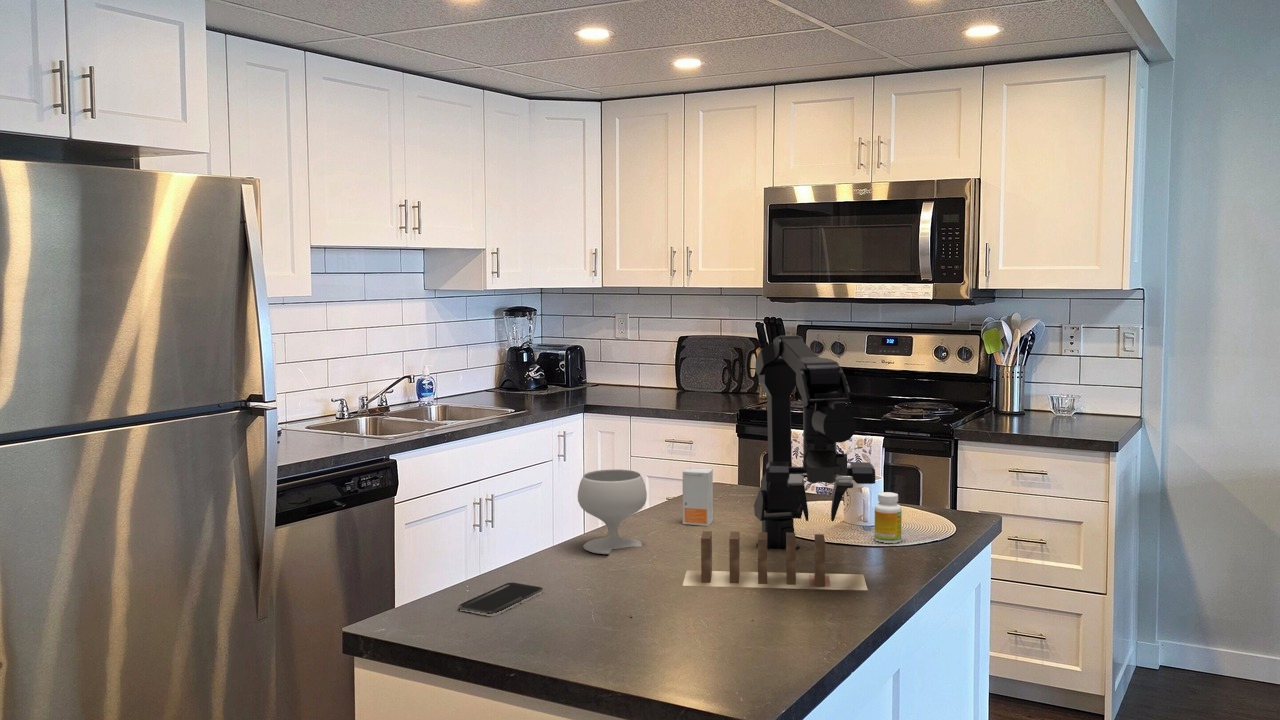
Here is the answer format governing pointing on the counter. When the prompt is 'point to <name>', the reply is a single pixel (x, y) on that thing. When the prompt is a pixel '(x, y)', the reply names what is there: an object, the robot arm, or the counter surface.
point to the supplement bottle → (888, 518)
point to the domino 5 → (819, 560)
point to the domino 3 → (762, 557)
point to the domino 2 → (734, 557)
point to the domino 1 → (706, 557)
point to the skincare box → (698, 496)
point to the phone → (500, 598)
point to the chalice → (611, 504)
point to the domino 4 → (791, 558)
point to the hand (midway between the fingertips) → (819, 520)
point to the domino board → (778, 580)
